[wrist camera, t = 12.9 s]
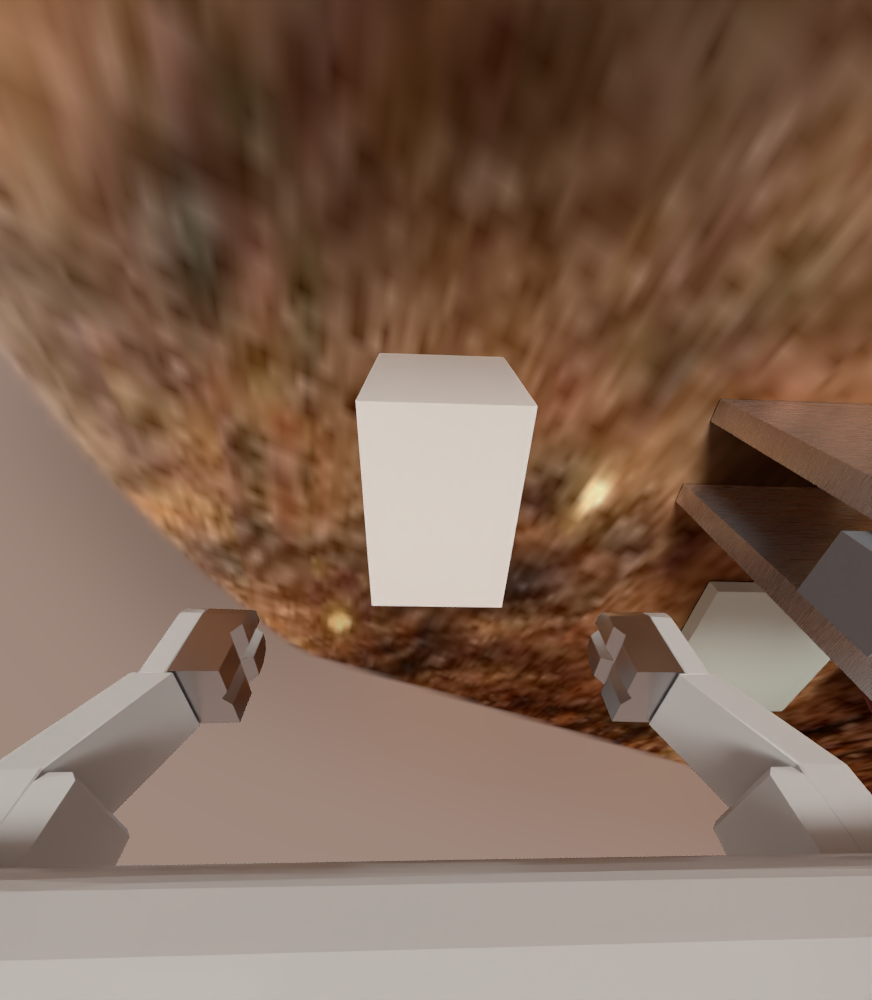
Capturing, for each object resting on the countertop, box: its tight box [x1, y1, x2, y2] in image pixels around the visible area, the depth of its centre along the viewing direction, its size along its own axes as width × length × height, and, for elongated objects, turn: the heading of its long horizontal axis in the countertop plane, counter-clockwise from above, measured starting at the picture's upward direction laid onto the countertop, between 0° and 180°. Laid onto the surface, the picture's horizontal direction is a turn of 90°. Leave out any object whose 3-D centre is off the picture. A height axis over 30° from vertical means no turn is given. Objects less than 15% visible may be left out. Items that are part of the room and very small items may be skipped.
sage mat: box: [681, 582, 830, 711], centre depth 26 cm, size 10×12×1 cm
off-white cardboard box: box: [355, 353, 538, 608], centre depth 15 cm, size 5×8×6 cm, turn 178°
